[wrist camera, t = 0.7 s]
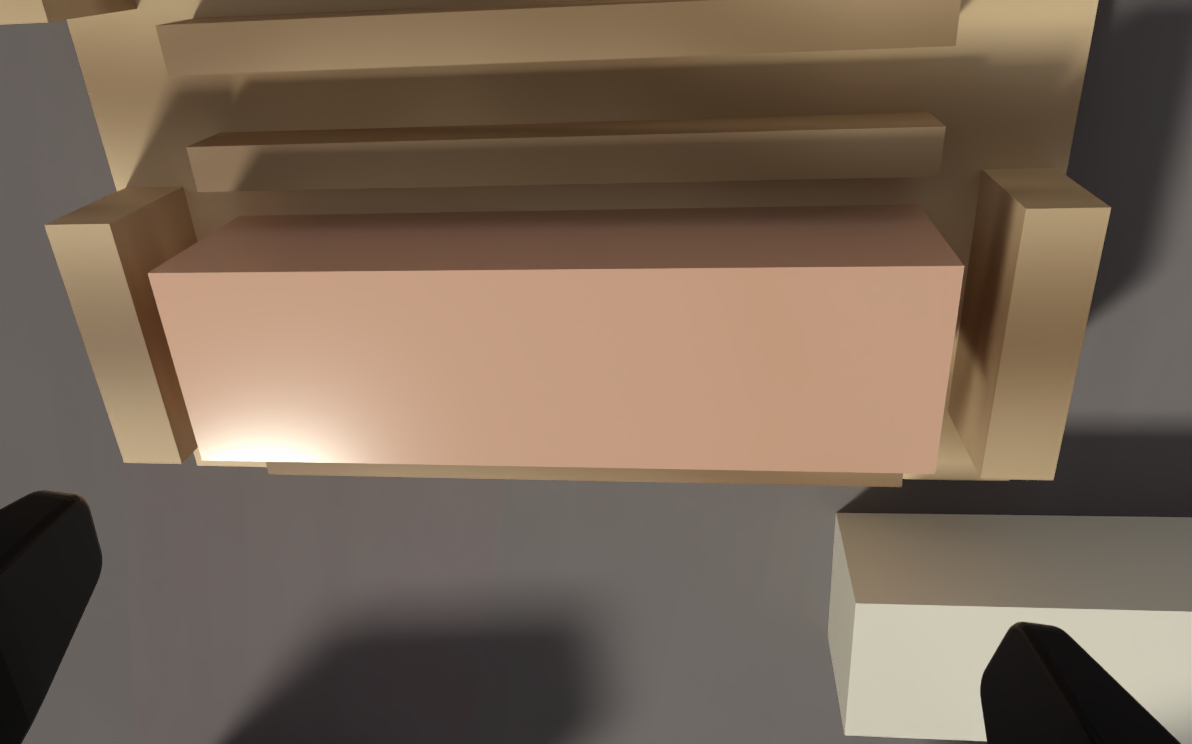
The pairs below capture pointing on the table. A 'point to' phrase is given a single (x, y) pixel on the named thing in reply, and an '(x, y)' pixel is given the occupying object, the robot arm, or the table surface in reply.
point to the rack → (597, 164)
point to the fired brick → (570, 338)
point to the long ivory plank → (1002, 611)
